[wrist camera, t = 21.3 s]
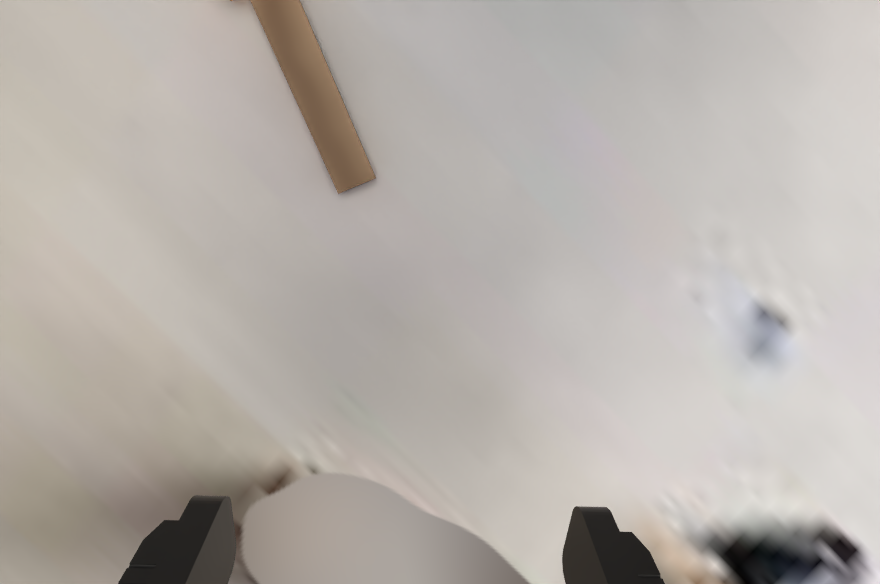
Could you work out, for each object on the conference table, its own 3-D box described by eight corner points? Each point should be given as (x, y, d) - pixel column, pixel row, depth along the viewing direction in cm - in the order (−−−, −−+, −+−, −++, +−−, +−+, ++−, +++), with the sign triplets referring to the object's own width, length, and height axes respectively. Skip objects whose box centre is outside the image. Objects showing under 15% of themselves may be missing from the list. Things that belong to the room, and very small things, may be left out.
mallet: (262, -142, 34) (245, -192, 30) (393, 169, 40) (395, 170, 36) (180, -108, 34) (148, -153, 29) (322, 199, 40) (316, 204, 35)
